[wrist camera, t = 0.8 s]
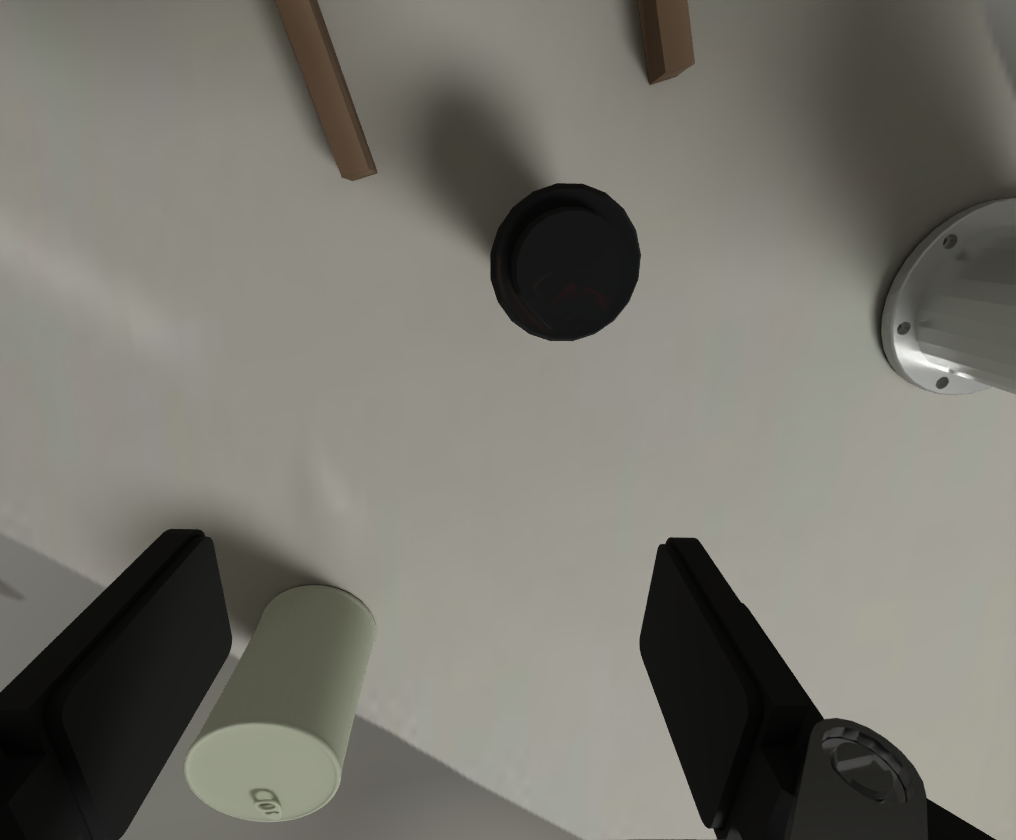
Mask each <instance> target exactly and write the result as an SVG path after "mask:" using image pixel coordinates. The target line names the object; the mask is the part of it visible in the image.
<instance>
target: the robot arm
mask: <svg viewBox="0 0 1016 840" xmlns="http://www.w3.org/2000/svg"><path fill="white" fill-rule="evenodd" d="M881 335H882V341H883V348H884V351H885V354H886V356H887V359H888V361H889V363H890V365H891V366H892V367H893V369H894V370H895V371H896V373H897V374H898V375H899V376H901V377H902V378H903V379H904V380H906V381H907V382H908V383H910V384H912V385H915V386H917V387H919V388H921V389H924V390H927V391H930V392H933V393H936V394H944V395H962V394H971V393H975V392H978V391H982V390H986V389H989V388H991V387H995V388H998V389H1001V390H1004V391H1007V392H1010V393H1013V394H1016V198H1008V199H998V200H992V201H988V202H985V203H982V204H978V205H975V206H972V207H970V208H968V209H966V210H964V211H962V212H960V213H958V214H956V215H954V216H953V217H951V218H950V219H948V220H947V221H946V222H944V223H943V224H941V225H940V226H938V227H937V228H936V229H935V230H933V231H932V232H931V233H930V234H929V235H928V236H927V237H926V238H925V239H924V240H923V241H922V242H921V243H919V245H918V246H917V247H916V248H915V250H914V251H913V252H912V253H911V255H910V256H909V257H908V258H907V259H906V261H905V262H904V264H903V266H902V267H901V269H900V271H899V272H898V274H897V276H896V277H895V279H894V281H893V284H892V286H891V288H890V291H889V293H888V296H887V298H886V302H885V306H884V311H883V315H882V329H881ZM231 645H232V634H231V629H230V624H229V619H228V614H227V609H226V604H225V599H224V594H223V589H222V584H221V579H220V574H219V569H218V564H217V559H216V554H215V549H214V544H213V541H212V539H211V538H210V537H205V535H204V533H203V532H202V531H201V530H198V529H169V530H167V531H165V532H164V533H163V534H162V535H161V536H160V537H158V538H157V539H156V540H155V541H154V542H153V543H152V544H151V545H150V546H149V547H148V548H147V549H146V550H145V551H144V552H143V553H142V554H141V555H140V556H139V557H138V558H137V559H136V560H135V561H134V562H133V563H132V564H131V565H130V566H129V567H128V568H127V569H126V570H125V571H124V572H123V573H122V574H121V575H120V576H119V577H118V578H117V579H116V580H115V581H114V582H113V583H112V584H111V585H110V586H108V587H107V588H106V589H105V590H104V591H103V592H102V593H101V594H100V595H99V596H98V597H97V598H96V599H95V600H94V601H93V602H92V603H91V604H90V605H89V606H88V607H87V608H86V609H85V610H84V611H83V612H82V613H81V614H80V615H79V616H78V617H77V618H76V619H75V620H74V621H73V622H72V623H71V624H70V625H69V626H68V627H67V628H66V629H65V630H64V631H63V632H62V633H61V634H60V635H59V636H57V637H56V639H54V640H53V641H52V642H51V643H50V644H49V645H48V647H46V648H45V649H44V650H43V651H42V652H41V653H40V654H39V655H38V656H37V657H36V658H35V659H34V660H33V661H32V662H31V663H30V664H29V665H28V666H27V667H26V668H25V669H24V670H23V671H22V672H21V673H20V674H19V675H18V676H17V677H16V678H15V679H14V680H13V681H12V682H11V683H10V684H9V685H7V686H6V687H5V689H4V690H2V692H0V840H119V839H120V838H121V837H122V836H123V835H124V833H125V832H126V830H127V829H128V827H129V825H130V823H131V822H132V820H133V818H134V816H135V815H136V813H137V811H138V810H139V808H140V806H141V805H142V803H143V801H144V799H145V798H146V796H147V794H148V792H149V791H150V789H151V787H152V786H153V784H154V782H155V780H156V779H157V777H158V775H159V774H160V772H161V770H162V769H163V767H164V765H165V763H166V762H167V760H168V758H169V756H170V755H171V753H172V751H173V750H174V748H175V746H176V744H177V743H178V741H179V739H180V737H181V736H182V734H183V732H184V731H185V729H186V727H187V726H188V724H189V722H190V720H191V719H192V717H193V715H194V713H195V712H196V710H197V708H198V707H199V705H200V703H201V702H202V700H203V698H204V696H205V695H206V693H207V691H208V690H209V688H210V686H211V684H212V683H213V681H214V679H215V678H216V676H217V674H218V672H219V671H220V669H221V667H222V666H223V664H224V662H225V660H226V659H227V657H228V655H229V652H230V649H231ZM640 652H641V656H642V659H643V662H644V665H645V667H646V670H647V673H648V676H649V678H650V681H651V684H652V686H653V689H654V692H655V695H656V697H657V700H658V703H659V706H660V708H661V711H662V714H663V716H664V719H665V722H666V725H667V727H668V730H669V733H670V736H671V738H672V741H673V744H674V746H675V749H676V752H677V755H678V757H679V760H680V763H681V766H682V768H683V771H684V774H685V776H686V779H687V782H688V785H689V787H690V790H691V793H692V796H693V798H694V801H695V804H696V806H697V809H698V812H699V815H700V817H701V820H702V822H703V823H704V825H705V826H706V827H707V828H713V829H714V832H715V834H716V837H717V839H718V840H996V839H994V838H992V837H991V836H989V835H987V834H986V833H984V832H982V831H981V830H979V829H977V828H976V827H974V826H972V825H971V824H969V823H967V822H966V821H964V820H962V819H961V818H959V817H957V816H955V815H954V814H952V813H950V812H949V811H947V810H945V809H944V808H942V807H940V806H939V805H937V804H935V803H934V802H932V801H930V800H929V799H927V798H926V792H925V788H924V784H923V781H922V779H921V777H920V776H919V774H918V772H917V770H916V769H915V767H914V766H913V764H912V763H911V762H910V761H909V760H908V759H907V757H906V756H905V755H904V754H903V753H902V752H901V751H900V750H899V749H898V748H897V747H895V746H894V745H893V744H892V743H891V742H889V741H888V740H887V739H886V738H884V737H883V736H881V735H880V734H878V733H876V732H875V731H873V730H871V729H870V728H868V727H866V726H863V725H861V724H858V723H856V722H853V721H850V720H844V719H839V718H832V719H824V718H823V717H822V715H821V714H820V712H819V711H818V709H817V708H816V707H815V705H814V704H813V702H812V701H811V699H810V698H809V696H808V695H807V693H806V692H805V690H804V689H803V688H802V686H801V685H800V683H799V682H798V680H797V679H796V677H795V676H794V674H793V673H792V672H791V670H790V669H789V667H788V666H787V664H786V663H785V661H784V660H783V658H782V657H781V656H780V654H779V653H778V651H777V650H776V648H775V647H774V645H773V644H772V642H771V641H770V640H769V638H768V637H767V635H766V634H765V632H764V631H763V629H762V628H761V626H760V625H759V624H758V622H757V621H756V619H755V618H754V616H753V615H752V613H751V612H750V610H749V609H748V608H747V607H746V606H745V605H744V604H743V603H741V602H740V600H739V599H738V597H737V596H736V595H735V593H734V592H733V590H732V589H731V587H730V586H729V584H728V583H727V581H726V580H725V578H724V577H723V575H722V574H721V572H720V571H719V569H718V568H717V567H716V565H715V564H714V562H713V561H712V559H711V558H710V556H709V555H708V553H707V552H706V550H705V549H704V547H703V546H702V544H701V543H700V542H699V540H698V539H696V538H672V537H670V538H668V540H667V541H666V544H661V545H659V547H658V550H657V555H656V560H655V565H654V570H653V575H652V580H651V585H650V590H649V595H648V600H647V605H646V610H645V614H644V619H643V624H642V629H641V634H640ZM629 840H695V839H629Z"/></svg>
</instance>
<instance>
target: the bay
mask: <svg viewBox="0 0 1016 840" xmlns="http://www.w3.org/2000/svg"><path fill="white" fill-rule="evenodd" d="M275 2H276V4H277V7H278V10H279V12H280V15H281V18H282V20H283V23H284V25H285V28H286V31H287V33H288V36H289V39H290V41H291V44H292V47H293V49H294V52H295V55H296V57H297V60H298V63H299V65H300V68H301V70H302V73H303V76H304V78H305V81H306V84H307V86H308V89H309V92H310V94H311V97H312V100H313V102H314V105H315V108H316V110H317V113H318V115H319V118H320V121H321V123H322V126H323V129H324V131H325V134H326V137H327V139H328V142H329V145H330V147H331V150H332V153H333V155H334V158H335V160H336V163H337V166H338V168H339V171H340V174H341V176H342V178H345V179H348V180H351V181H354V180H358V179H361V178H364V177H367V176H370V175H373V174H376V173H377V170H376V167H375V164H374V161H373V158H372V155H371V153H370V150H369V147H368V144H367V141H366V138H365V136H364V133H363V130H362V127H361V124H360V121H359V118H358V116H357V113H356V110H355V107H354V104H353V101H352V99H351V96H350V93H349V90H348V87H347V84H346V81H345V79H344V76H343V73H342V70H341V67H340V64H339V62H338V59H337V56H336V53H335V50H334V47H333V44H332V42H331V39H330V36H329V33H328V30H327V27H326V25H325V22H324V19H323V16H322V13H321V10H320V8H319V5H318V2H317V0H275ZM637 2H638V9H639V16H640V22H641V29H642V36H643V42H644V49H645V56H646V62H647V69H648V76H649V82H650V85H651V84H654V83H658V82H661V81H664V80H667V79H670V78H673V77H676V76H678V75H679V74H680V73H682V72H683V71H684V70H686V69H687V68H689V67H690V66H691V65H693V64H694V63H695V62H694V53H693V45H692V36H691V28H690V19H689V11H688V3H687V0H637Z"/></svg>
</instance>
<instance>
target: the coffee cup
mask: <svg viewBox="0 0 1016 840" xmlns="http://www.w3.org/2000/svg"><path fill="white" fill-rule="evenodd" d="M490 257H491V282H492V285H493V288H494V291H495V294H496V297H497V301H498V303H499V304H500V305H501V307H502V308H503V310H504V311H505V312H506V314H507V315H508V317H509V318H510V320H511V321H512V322H514V323H515V324H517V325H518V326H519V327H521V328H522V329H523V330H525V331H526V332H527V333H529V334H531V335H534V336H537V337H540V338H543V339H546V340H549V341H574V340H577V339H580V338H584V337H587V336H590V335H593V334H595V333H597V332H598V331H600V330H601V329H603V328H604V327H605V326H607V325H608V324H610V323H611V322H613V321H614V320H615V319H616V317H617V316H618V315H619V314H620V312H621V311H622V310H623V309H624V307H625V306H626V305H627V304H628V302H629V301H630V298H631V296H632V293H633V291H634V288H635V286H636V284H637V281H638V277H639V268H640V258H641V253H640V248H639V243H638V238H637V233H636V229H635V228H634V226H633V224H632V222H631V221H630V219H629V217H628V215H627V213H626V212H625V210H624V209H623V208H622V207H621V206H620V205H619V204H618V203H617V202H616V201H614V200H613V199H612V198H611V197H610V196H609V195H608V194H606V193H605V192H602V191H600V190H597V189H595V188H592V187H590V186H587V185H584V184H565V183H557V184H554V185H551V186H548V187H545V188H542V189H540V190H537V191H534V192H532V193H531V194H530V195H528V196H527V197H526V198H524V199H523V200H522V201H520V202H519V203H518V204H517V205H515V206H514V207H513V208H512V209H511V211H510V212H509V214H508V215H507V217H506V218H505V220H504V221H503V222H502V224H501V225H500V227H499V228H498V231H497V234H496V237H495V241H494V244H493V247H492V250H491V254H490Z"/></svg>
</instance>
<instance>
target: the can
mask: <svg viewBox="0 0 1016 840" xmlns="http://www.w3.org/2000/svg"><path fill="white" fill-rule="evenodd" d="M375 641H376V625H375V621H374V618H373V616H372V614H371V613H370V611H369V610H368V608H367V607H366V606H365V605H364V604H363V603H362V602H361V601H360V600H358V599H357V598H356V597H354V596H353V595H351V594H349V593H347V592H345V591H343V590H340V589H337V588H334V587H329V586H322V585H305V586H299V587H295V588H292V589H289V590H287V591H284V592H282V593H281V594H279V595H278V596H276V597H275V598H274V599H273V600H271V601H270V602H269V604H268V605H267V606H266V608H265V609H264V611H263V613H262V616H261V619H260V622H259V624H258V626H257V628H256V630H255V632H254V634H253V636H252V638H251V640H250V642H249V644H248V646H247V648H246V649H245V651H244V653H243V655H242V657H241V659H240V660H239V662H238V665H237V666H236V668H235V670H234V671H233V673H232V675H231V677H230V679H229V681H228V683H227V685H226V686H225V688H224V690H223V692H222V694H221V696H220V697H219V699H218V701H217V703H216V704H215V706H214V708H213V710H212V711H211V713H210V715H209V717H208V719H207V720H206V722H205V724H204V726H203V728H202V729H201V731H200V733H199V735H198V736H197V738H196V739H195V741H194V743H193V744H192V745H191V747H190V748H189V750H188V752H187V754H186V758H185V761H184V774H185V777H186V780H187V783H188V784H189V786H190V788H191V789H192V791H193V792H194V793H195V794H196V795H197V796H198V797H199V798H200V799H201V800H202V801H203V802H205V803H206V804H207V805H209V806H211V807H212V808H214V809H216V810H218V811H220V812H222V813H225V814H227V815H230V816H233V817H236V818H240V819H244V820H250V821H258V822H277V821H287V820H292V819H297V818H300V817H303V816H306V815H308V814H311V813H313V812H315V811H317V810H318V809H320V808H321V807H323V806H324V805H325V804H327V803H328V802H329V801H330V799H331V798H332V797H333V796H334V794H335V793H336V791H337V789H338V787H339V784H340V781H341V772H342V767H343V762H344V758H345V753H346V749H347V745H348V741H349V736H350V732H351V728H352V724H353V720H354V716H355V712H356V708H357V703H358V699H359V695H360V691H361V687H362V683H363V679H364V676H365V672H366V668H367V664H368V660H369V656H370V653H371V651H372V649H373V647H374V644H375Z"/></svg>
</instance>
